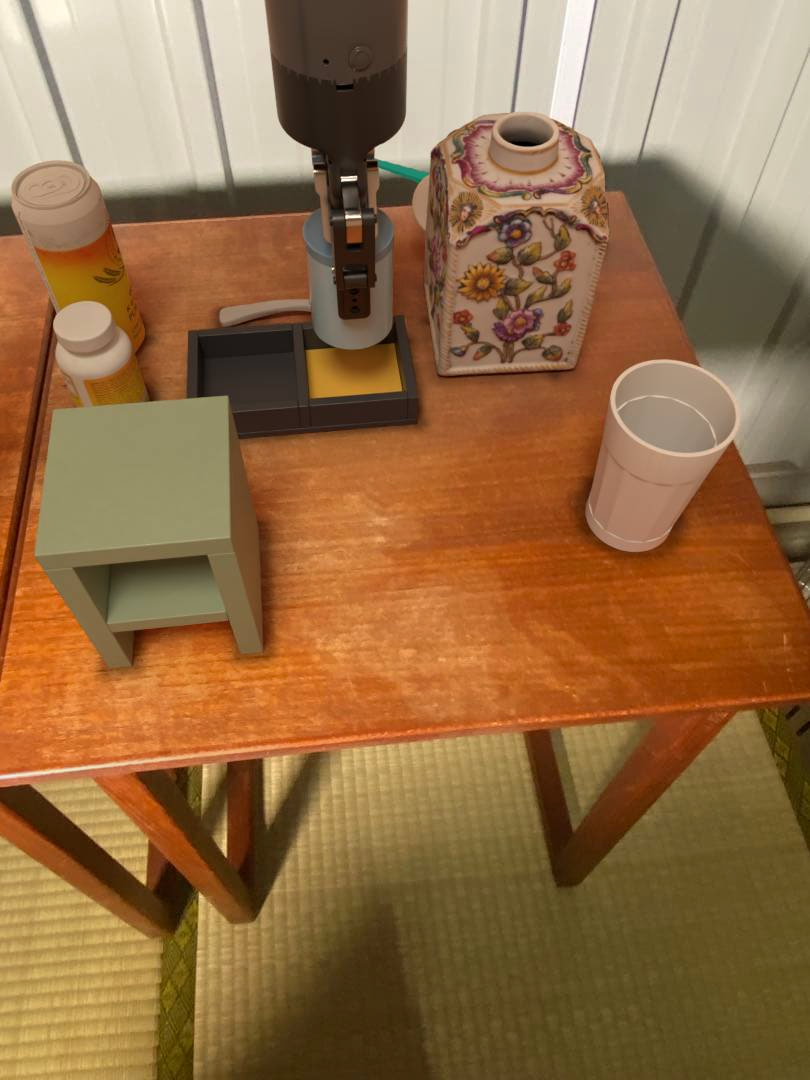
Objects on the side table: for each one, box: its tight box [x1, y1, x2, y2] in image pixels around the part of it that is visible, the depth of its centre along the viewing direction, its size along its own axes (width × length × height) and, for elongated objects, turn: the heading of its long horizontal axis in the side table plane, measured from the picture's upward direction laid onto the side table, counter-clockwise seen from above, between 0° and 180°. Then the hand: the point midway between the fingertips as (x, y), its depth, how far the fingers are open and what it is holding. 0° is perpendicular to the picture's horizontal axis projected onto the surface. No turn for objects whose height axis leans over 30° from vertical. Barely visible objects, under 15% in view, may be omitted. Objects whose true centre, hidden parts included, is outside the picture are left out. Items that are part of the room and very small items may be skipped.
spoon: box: [219, 298, 311, 328], centre depth 72 cm, size 3×12×2 cm, turn 97°
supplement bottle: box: [52, 301, 151, 408], centre depth 63 cm, size 5×5×10 cm
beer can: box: [10, 159, 146, 354], centre depth 64 cm, size 6×6×15 cm
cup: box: [584, 358, 741, 553], centre depth 57 cm, size 8×8×12 cm
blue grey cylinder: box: [302, 203, 395, 350], centre depth 59 cm, size 6×6×8 cm
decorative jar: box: [423, 111, 611, 377], centre depth 65 cm, size 12×12×18 cm
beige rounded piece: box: [411, 174, 430, 233], centre depth 75 cm, size 5×5×10 cm
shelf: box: [33, 396, 264, 670], centre depth 52 cm, size 10×10×14 cm
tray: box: [186, 314, 419, 440], centre depth 67 cm, size 17×9×3 cm, turn 97°
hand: (349, 282), depth 60 cm, fingers closed on blue grey cylinder, 6 cm apart
